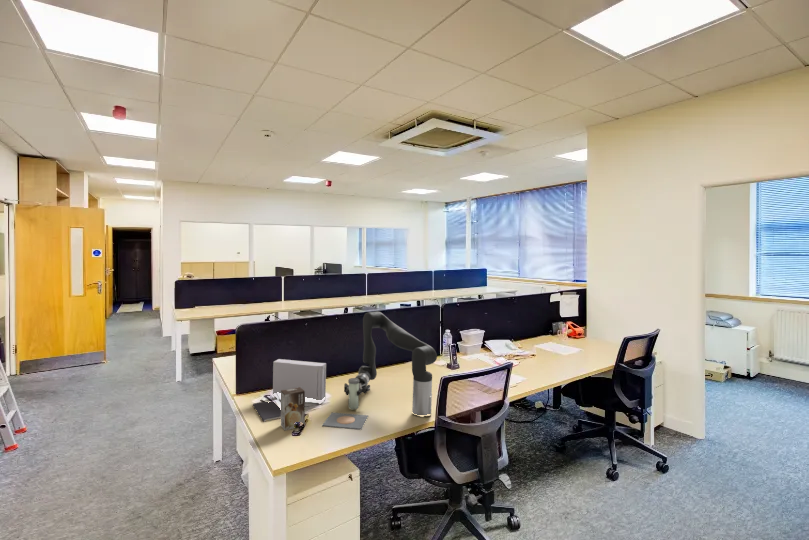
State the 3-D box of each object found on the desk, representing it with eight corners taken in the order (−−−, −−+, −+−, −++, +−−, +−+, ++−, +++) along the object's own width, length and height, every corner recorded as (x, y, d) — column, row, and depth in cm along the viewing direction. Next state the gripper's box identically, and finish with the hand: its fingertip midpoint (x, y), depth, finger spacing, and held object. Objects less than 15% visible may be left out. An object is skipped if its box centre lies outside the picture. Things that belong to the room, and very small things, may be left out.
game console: (320, 404, 195) (321, 366, 194) (272, 399, 200) (273, 361, 200) (325, 400, 201) (326, 363, 200) (278, 395, 206) (278, 358, 205)
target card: (368, 416, 183) (368, 415, 183) (361, 429, 169) (361, 428, 169) (331, 413, 185) (331, 412, 185) (322, 426, 171) (322, 424, 171)
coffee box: (300, 420, 176) (300, 386, 175) (304, 426, 171) (305, 390, 170) (280, 425, 171) (280, 389, 170) (284, 431, 166) (284, 394, 165)
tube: (359, 405, 192) (360, 378, 191) (357, 409, 187) (357, 381, 186) (349, 405, 193) (350, 377, 192) (346, 409, 187) (347, 381, 187)
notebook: (252, 406, 192) (263, 423, 174) (252, 403, 191) (263, 419, 174) (278, 401, 199) (291, 417, 181) (278, 398, 199) (291, 413, 181)
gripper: (347, 374, 204) (338, 385, 187) (373, 375, 202) (366, 386, 186) (347, 388, 205) (338, 400, 188) (373, 389, 203) (366, 402, 186)
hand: (352, 393), depth 187 cm, fingers closed on tube, 4 cm apart
